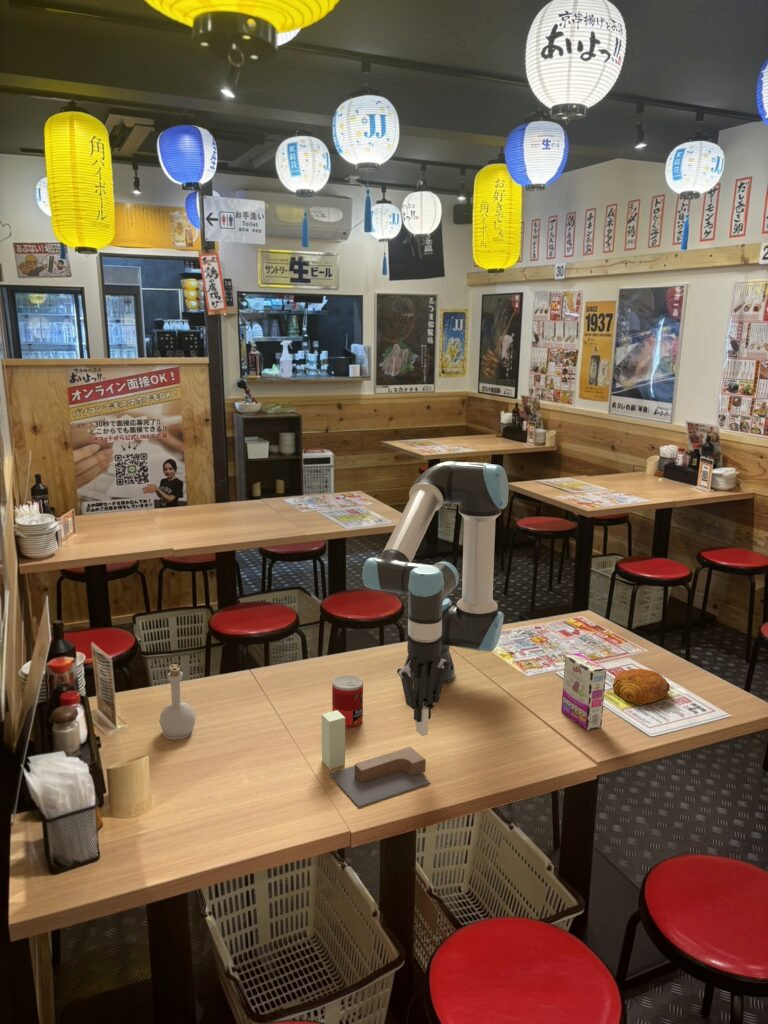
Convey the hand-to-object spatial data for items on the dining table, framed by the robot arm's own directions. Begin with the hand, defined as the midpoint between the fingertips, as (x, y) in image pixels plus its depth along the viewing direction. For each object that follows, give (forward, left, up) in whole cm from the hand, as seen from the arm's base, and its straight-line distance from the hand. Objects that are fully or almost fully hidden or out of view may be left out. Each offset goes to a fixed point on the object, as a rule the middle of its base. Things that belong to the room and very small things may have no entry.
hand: (421, 732), depth 168 cm
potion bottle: (+45, -42, -9) cm, 62 cm away
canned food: (+5, -27, -9) cm, 29 cm away
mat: (+11, 0, -9) cm, 14 cm away
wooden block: (+1, 0, -7) cm, 7 cm away
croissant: (-75, -1, -9) cm, 75 cm away
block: (+17, -11, -9) cm, 22 cm away
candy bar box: (-49, +2, -9) cm, 50 cm away
